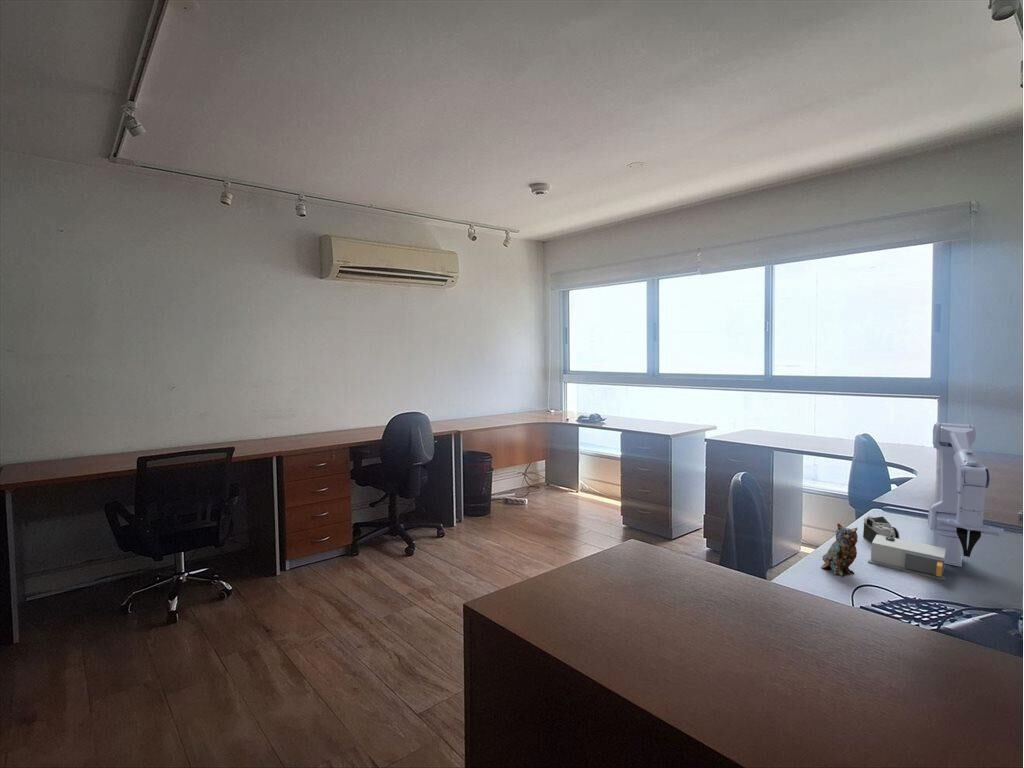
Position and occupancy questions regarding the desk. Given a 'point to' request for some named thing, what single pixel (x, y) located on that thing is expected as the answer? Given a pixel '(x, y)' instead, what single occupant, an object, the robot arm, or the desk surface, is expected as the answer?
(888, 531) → the camera
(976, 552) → the desk surface
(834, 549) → the figurine
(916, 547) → the camera case
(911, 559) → the side door
